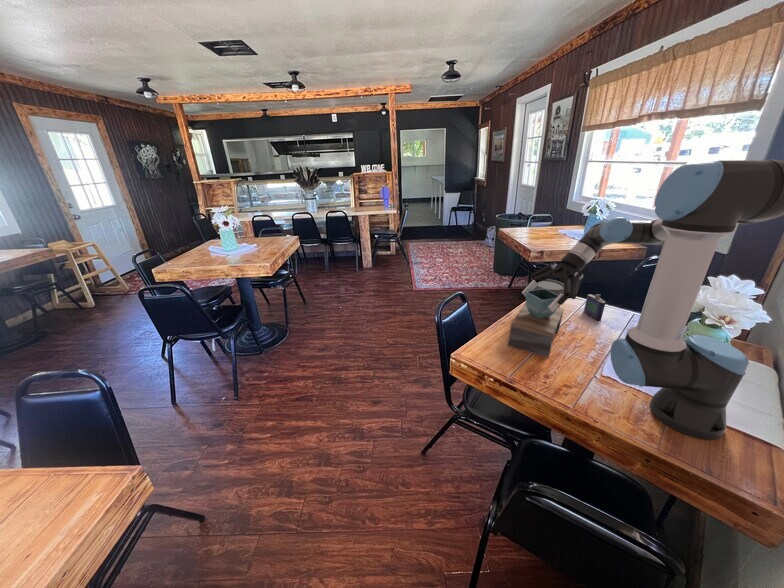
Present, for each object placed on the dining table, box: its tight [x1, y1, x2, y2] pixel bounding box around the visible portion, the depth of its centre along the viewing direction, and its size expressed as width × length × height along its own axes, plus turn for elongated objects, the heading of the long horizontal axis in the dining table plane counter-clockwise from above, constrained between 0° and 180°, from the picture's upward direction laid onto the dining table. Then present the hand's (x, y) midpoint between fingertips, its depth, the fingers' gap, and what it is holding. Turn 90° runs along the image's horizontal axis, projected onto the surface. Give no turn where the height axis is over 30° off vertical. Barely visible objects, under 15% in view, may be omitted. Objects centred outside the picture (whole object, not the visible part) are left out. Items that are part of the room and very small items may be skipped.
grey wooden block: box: [507, 302, 564, 359], centre depth 121 cm, size 22×14×10 cm, turn 145°
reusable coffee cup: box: [533, 278, 564, 308], centre depth 137 cm, size 13×13×15 cm
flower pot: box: [525, 289, 559, 319], centre depth 117 cm, size 9×9×9 cm
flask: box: [582, 293, 607, 322], centre depth 136 cm, size 9×3×11 cm, turn 10°
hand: (536, 301), depth 116 cm, fingers open, 13 cm apart
